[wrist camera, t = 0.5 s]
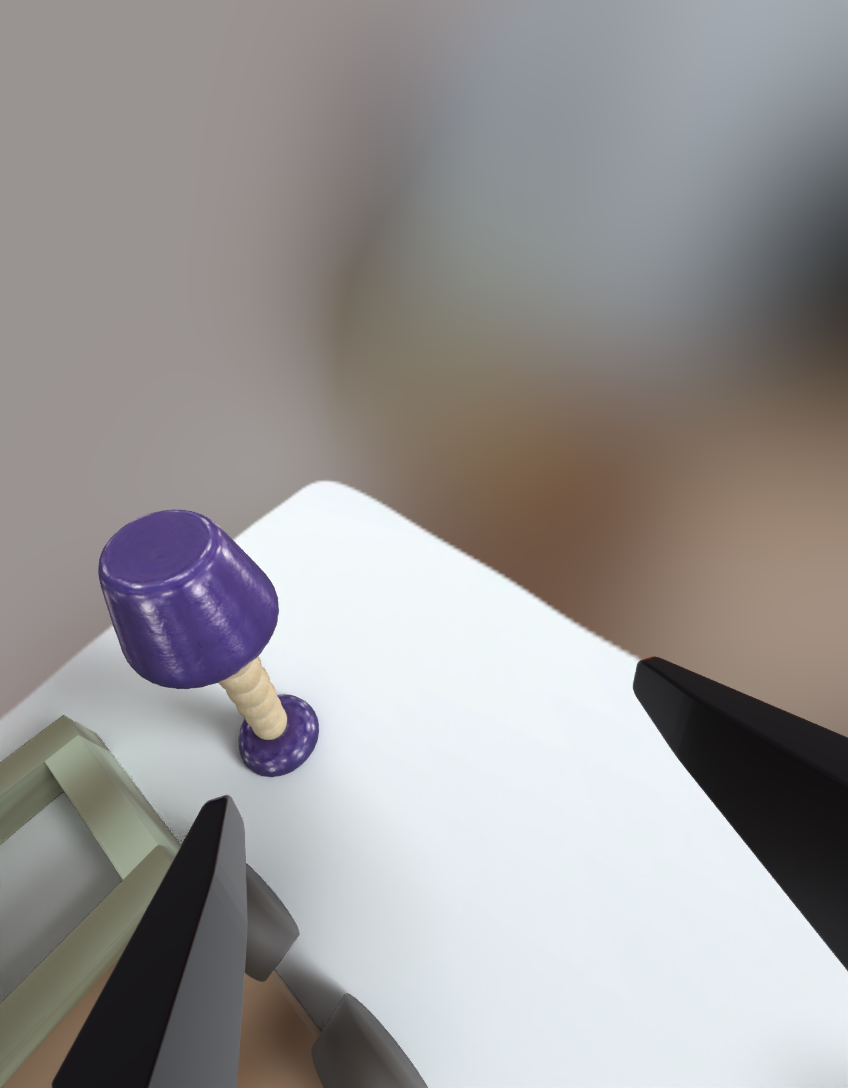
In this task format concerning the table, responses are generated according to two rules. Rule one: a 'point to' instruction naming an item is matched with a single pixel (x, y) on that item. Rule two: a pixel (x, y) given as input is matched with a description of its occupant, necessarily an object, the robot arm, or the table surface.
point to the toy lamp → (204, 627)
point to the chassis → (99, 940)
